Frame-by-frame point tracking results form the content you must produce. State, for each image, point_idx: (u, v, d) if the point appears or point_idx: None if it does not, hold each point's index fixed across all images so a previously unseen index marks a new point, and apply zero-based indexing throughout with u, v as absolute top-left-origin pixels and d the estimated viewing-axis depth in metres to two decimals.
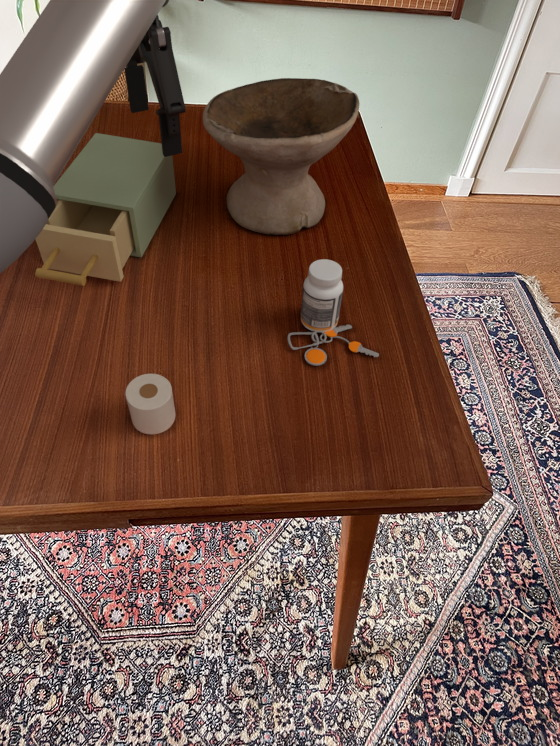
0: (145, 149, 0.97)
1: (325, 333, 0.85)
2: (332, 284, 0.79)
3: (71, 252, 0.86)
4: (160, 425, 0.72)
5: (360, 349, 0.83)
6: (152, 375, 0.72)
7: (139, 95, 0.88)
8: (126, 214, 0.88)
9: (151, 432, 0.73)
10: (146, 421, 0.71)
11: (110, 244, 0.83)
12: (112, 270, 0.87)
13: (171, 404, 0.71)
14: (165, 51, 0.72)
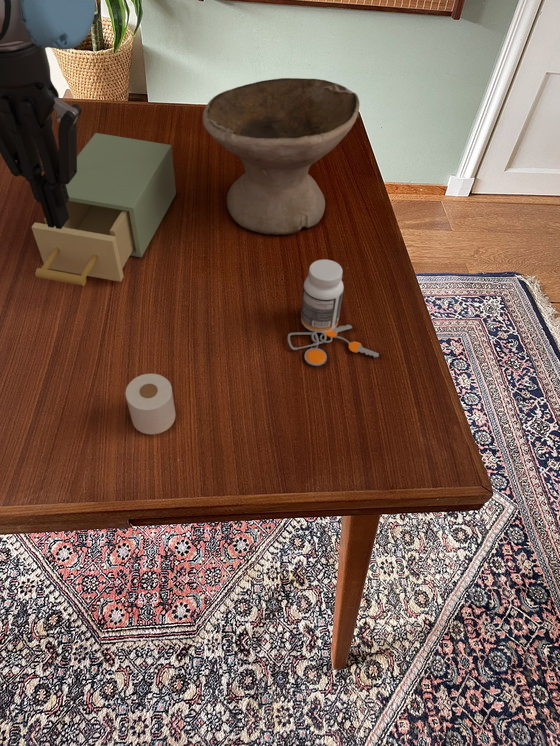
0: (145, 149, 0.97)
1: (325, 333, 0.85)
2: (332, 284, 0.79)
3: (71, 252, 0.86)
4: (160, 425, 0.72)
5: (360, 349, 0.83)
6: (152, 375, 0.72)
7: None
8: (126, 214, 0.88)
9: (151, 432, 0.73)
10: (146, 421, 0.71)
11: (110, 244, 0.83)
12: (112, 270, 0.87)
13: (171, 404, 0.71)
14: (73, 128, 0.68)
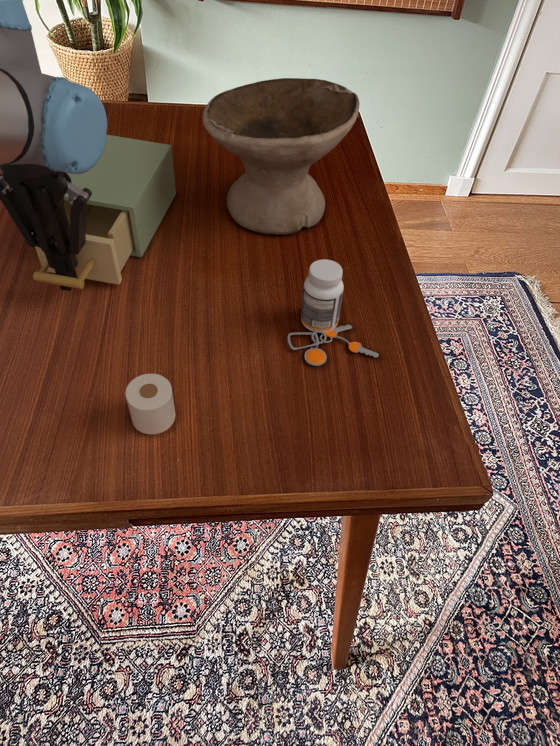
0: (145, 149, 0.97)
1: (325, 333, 0.85)
2: (333, 284, 0.79)
3: None
4: (160, 425, 0.72)
5: (360, 349, 0.83)
6: (152, 375, 0.72)
7: None
8: (124, 217, 0.87)
9: (151, 432, 0.73)
10: (146, 421, 0.71)
11: (108, 247, 0.83)
12: (110, 273, 0.87)
13: (171, 404, 0.71)
14: (84, 208, 0.74)
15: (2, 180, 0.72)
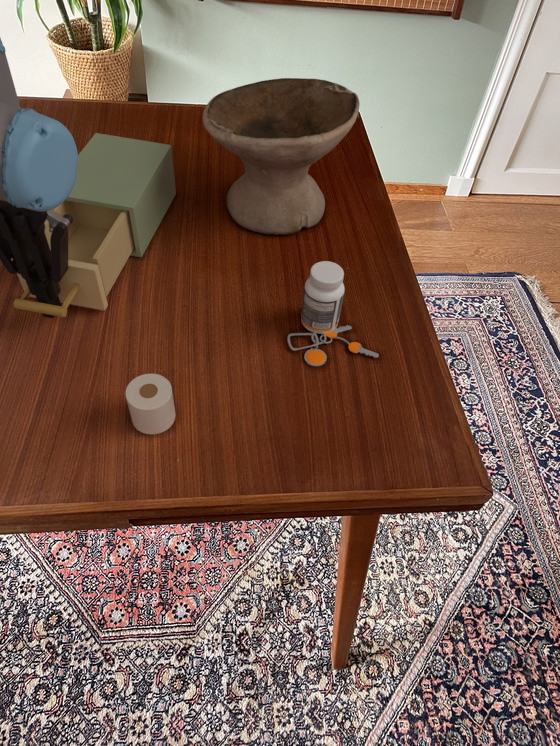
0: (145, 149, 0.97)
1: (325, 334, 0.85)
2: (334, 287, 0.79)
3: None
4: (160, 425, 0.72)
5: (360, 350, 0.83)
6: (152, 375, 0.72)
7: None
8: (110, 240, 0.84)
9: (151, 432, 0.73)
10: (146, 421, 0.71)
11: (92, 273, 0.79)
12: (95, 299, 0.83)
13: (171, 404, 0.71)
14: (65, 234, 0.71)
15: None
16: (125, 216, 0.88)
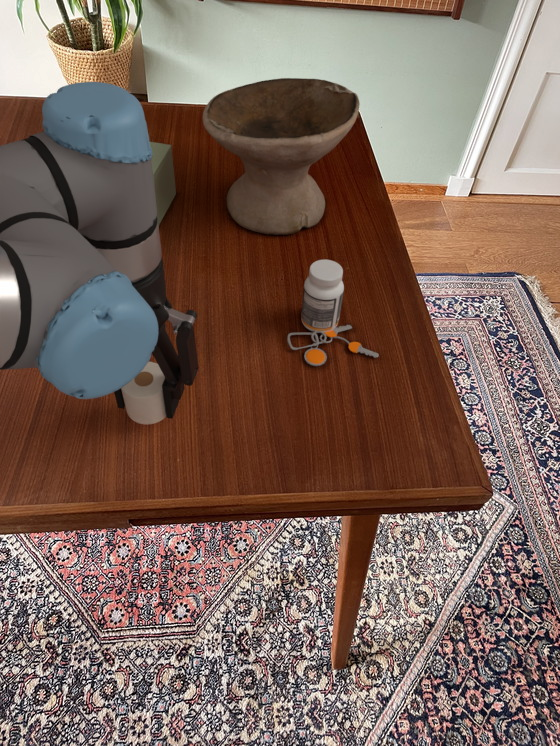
0: None
1: (325, 333, 0.85)
2: (333, 284, 0.79)
3: None
4: (155, 415, 0.70)
5: (360, 349, 0.83)
6: (148, 363, 0.70)
7: None
8: None
9: (146, 421, 0.70)
10: (141, 410, 0.68)
11: None
12: None
13: None
14: (191, 333, 0.61)
15: None
16: None
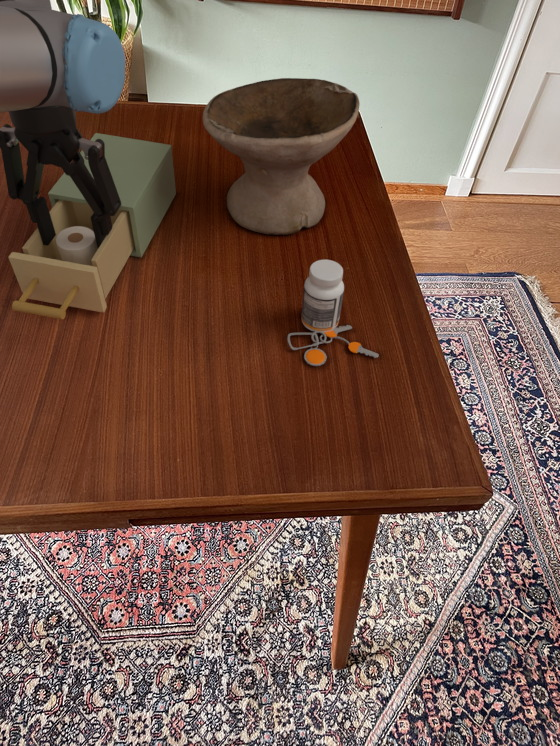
0: (145, 149, 0.97)
1: (325, 333, 0.85)
2: (333, 284, 0.79)
3: (50, 282, 0.82)
4: None
5: (360, 350, 0.83)
6: (80, 227, 0.86)
7: (48, 225, 0.84)
8: (109, 242, 0.83)
9: None
10: None
11: (91, 275, 0.79)
12: (94, 301, 0.83)
13: (95, 250, 0.86)
14: (102, 161, 0.74)
15: (11, 133, 0.73)
16: (124, 218, 0.87)
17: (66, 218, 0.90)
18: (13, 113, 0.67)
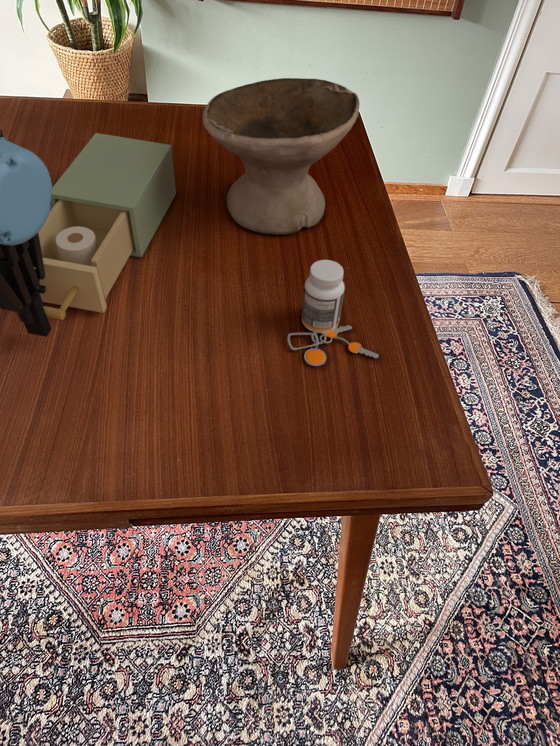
0: (145, 149, 0.97)
1: (325, 334, 0.85)
2: (334, 284, 0.79)
3: (50, 282, 0.82)
4: None
5: (360, 350, 0.83)
6: (79, 227, 0.86)
7: None
8: (109, 242, 0.83)
9: None
10: None
11: (91, 275, 0.79)
12: (94, 301, 0.83)
13: (95, 251, 0.86)
14: None
15: None
16: (124, 218, 0.87)
17: (66, 218, 0.90)
18: None
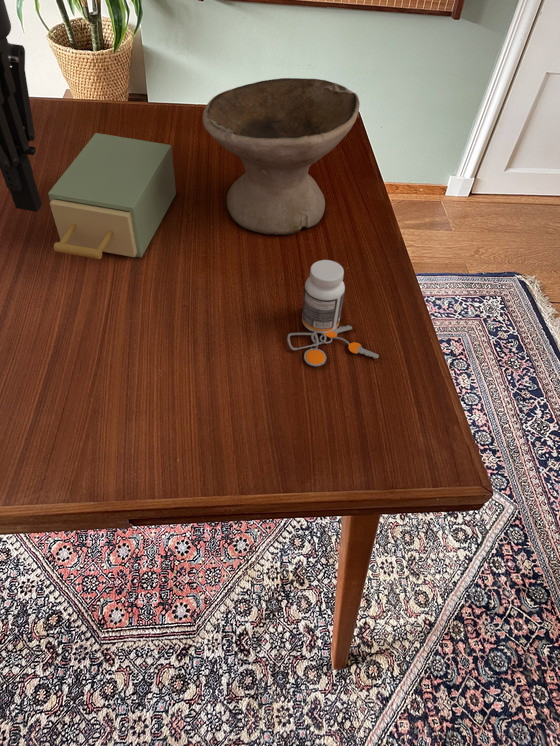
0: (145, 149, 0.97)
1: (325, 334, 0.85)
2: (334, 285, 0.79)
3: (87, 228, 0.90)
4: None
5: (360, 350, 0.83)
6: None
7: None
8: None
9: None
10: None
11: (125, 220, 0.87)
12: (126, 246, 0.91)
13: None
14: None
15: None
16: None
17: None
18: None
